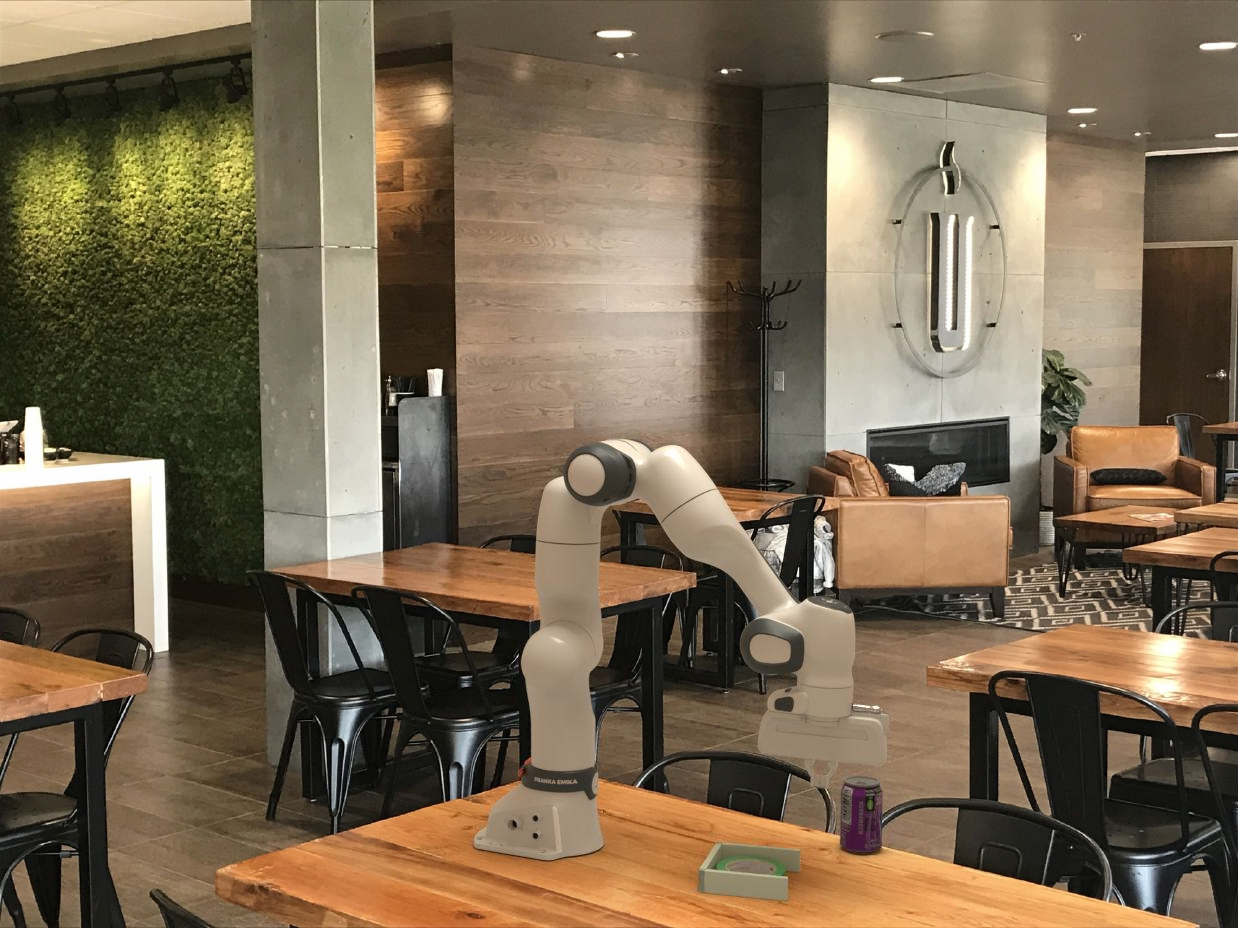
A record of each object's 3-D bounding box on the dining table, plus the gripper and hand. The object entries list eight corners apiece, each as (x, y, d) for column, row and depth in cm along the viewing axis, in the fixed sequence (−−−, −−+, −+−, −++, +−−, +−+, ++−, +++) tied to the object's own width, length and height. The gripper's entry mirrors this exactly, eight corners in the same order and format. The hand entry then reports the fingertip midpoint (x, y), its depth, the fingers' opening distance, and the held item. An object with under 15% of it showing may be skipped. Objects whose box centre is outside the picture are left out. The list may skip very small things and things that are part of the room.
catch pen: (698, 892, 229) (698, 870, 229) (716, 862, 244) (716, 841, 243) (786, 900, 225) (787, 878, 225) (800, 870, 240) (800, 849, 240)
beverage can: (881, 856, 247) (882, 787, 246) (838, 853, 248) (840, 784, 248) (882, 844, 254) (883, 776, 253) (841, 841, 255) (842, 773, 255)
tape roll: (783, 896, 228) (784, 880, 228) (713, 892, 230) (713, 876, 230) (786, 873, 239) (786, 857, 239) (719, 869, 241) (719, 853, 241)
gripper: (892, 703, 230) (888, 789, 231) (764, 690, 236) (760, 774, 236) (889, 711, 224) (884, 799, 225) (757, 698, 229) (753, 785, 230)
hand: (820, 787), depth 231 cm, fingers closed
